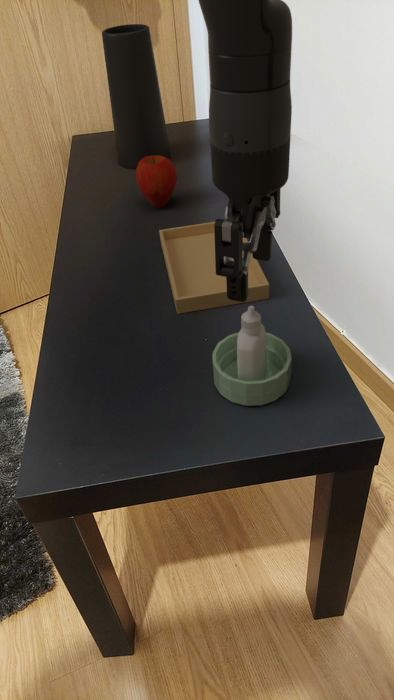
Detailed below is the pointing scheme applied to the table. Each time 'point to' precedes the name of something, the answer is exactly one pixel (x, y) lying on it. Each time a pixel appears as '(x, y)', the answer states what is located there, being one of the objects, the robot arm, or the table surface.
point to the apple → (156, 179)
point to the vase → (134, 94)
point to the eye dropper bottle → (251, 347)
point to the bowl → (252, 390)
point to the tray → (202, 270)
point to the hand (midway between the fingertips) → (250, 277)
